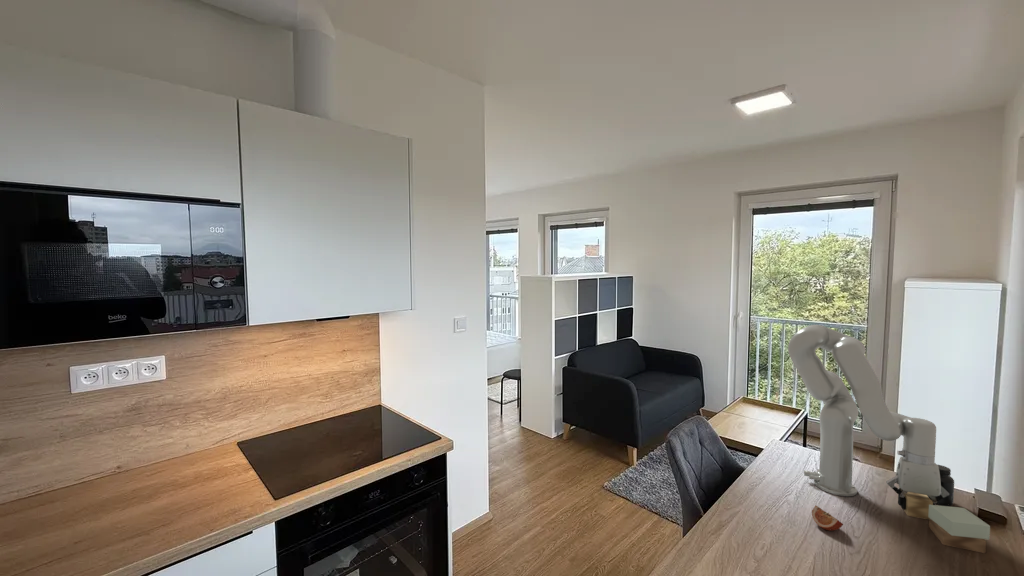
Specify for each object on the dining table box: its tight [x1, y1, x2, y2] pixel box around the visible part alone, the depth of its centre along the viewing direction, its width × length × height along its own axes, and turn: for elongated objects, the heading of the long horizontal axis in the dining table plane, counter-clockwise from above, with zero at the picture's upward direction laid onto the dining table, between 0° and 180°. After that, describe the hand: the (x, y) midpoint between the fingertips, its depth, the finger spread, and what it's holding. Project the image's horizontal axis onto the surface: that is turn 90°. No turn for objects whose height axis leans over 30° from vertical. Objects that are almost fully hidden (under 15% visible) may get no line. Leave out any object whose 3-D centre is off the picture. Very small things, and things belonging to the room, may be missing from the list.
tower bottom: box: [928, 518, 987, 554], centre depth 126 cm, size 9×9×4 cm
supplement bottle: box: [927, 464, 955, 507], centre depth 145 cm, size 7×7×12 cm
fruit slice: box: [811, 505, 844, 532], centre depth 132 cm, size 8×7×5 cm
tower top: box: [928, 504, 991, 540], centre depth 125 cm, size 9×9×4 cm
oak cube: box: [903, 492, 933, 521], centre depth 139 cm, size 6×6×6 cm
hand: (915, 509), depth 139 cm, fingers closed on oak cube, 6 cm apart
